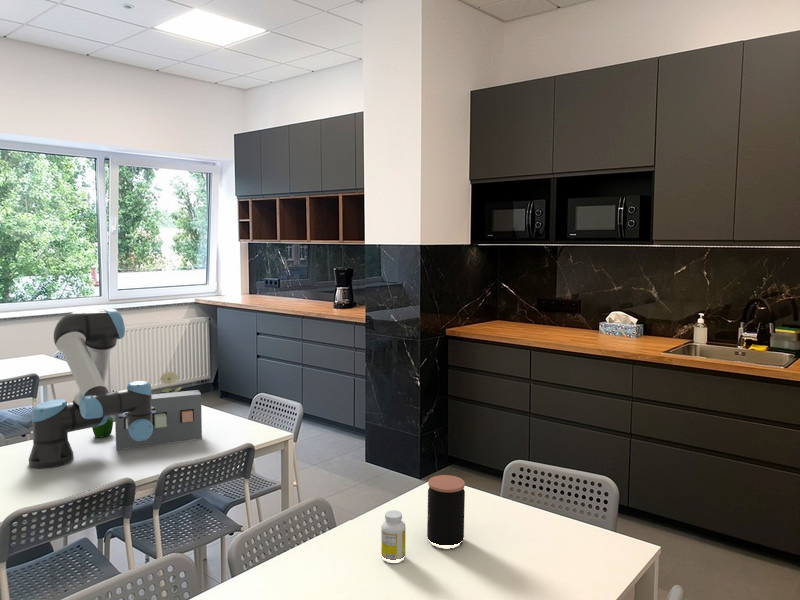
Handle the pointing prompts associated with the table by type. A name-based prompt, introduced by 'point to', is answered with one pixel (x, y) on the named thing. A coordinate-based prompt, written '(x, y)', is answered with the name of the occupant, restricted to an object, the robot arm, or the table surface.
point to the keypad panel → (175, 427)
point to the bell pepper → (104, 428)
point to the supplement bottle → (393, 536)
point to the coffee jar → (446, 510)
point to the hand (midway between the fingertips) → (135, 401)
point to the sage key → (160, 420)
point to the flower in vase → (169, 380)
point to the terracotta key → (186, 415)
